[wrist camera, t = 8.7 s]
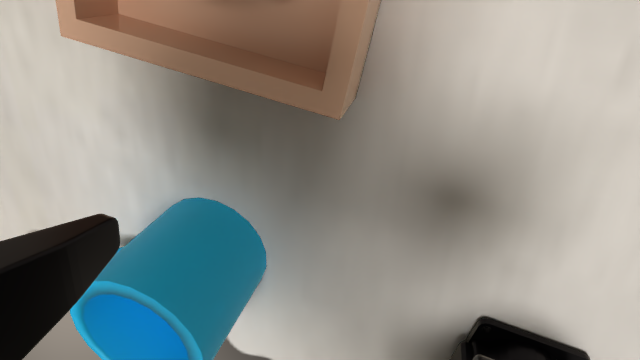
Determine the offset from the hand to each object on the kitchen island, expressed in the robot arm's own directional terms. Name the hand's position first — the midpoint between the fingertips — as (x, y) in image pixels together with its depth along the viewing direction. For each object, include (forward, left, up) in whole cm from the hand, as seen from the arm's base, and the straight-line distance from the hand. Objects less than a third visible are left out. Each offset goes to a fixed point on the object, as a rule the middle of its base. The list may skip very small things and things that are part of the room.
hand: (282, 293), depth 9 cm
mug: (+10, +13, -13) cm, 21 cm away
